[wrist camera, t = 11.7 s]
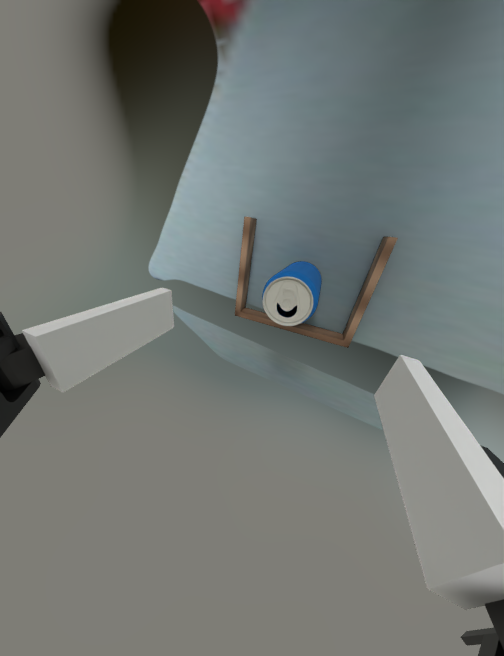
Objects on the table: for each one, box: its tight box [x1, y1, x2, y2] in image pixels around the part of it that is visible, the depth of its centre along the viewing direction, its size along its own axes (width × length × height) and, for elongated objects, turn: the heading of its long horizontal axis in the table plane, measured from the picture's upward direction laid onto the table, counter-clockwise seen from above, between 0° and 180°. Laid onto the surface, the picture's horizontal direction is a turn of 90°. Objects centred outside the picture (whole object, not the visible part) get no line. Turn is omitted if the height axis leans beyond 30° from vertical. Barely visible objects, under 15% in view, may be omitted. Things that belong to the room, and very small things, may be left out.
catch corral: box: [235, 217, 398, 348], centre depth 30 cm, size 16×20×2 cm
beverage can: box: [262, 261, 322, 326], centre depth 26 cm, size 6×6×12 cm
